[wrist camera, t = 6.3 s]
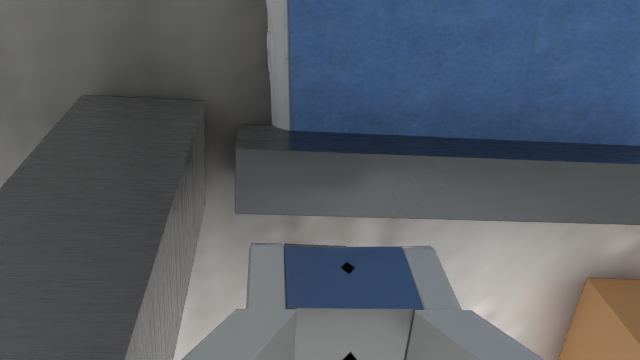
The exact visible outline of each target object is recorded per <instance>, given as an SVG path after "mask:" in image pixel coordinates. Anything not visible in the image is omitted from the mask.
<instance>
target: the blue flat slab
mask: <svg viewBox="0 0 640 360" xmlns="http://www.w3.org/2000/svg"><path fill="white" fill-rule="evenodd" d="M266 5H267V18H268V33H267V55H268V69H269V75H270V88H271V112H272V126H275V127H277V128H280V129H285V130H290V131H314V132H337V133H360V134H383V135H405V136H428V137H451V138H474V139H497V140H519V141H542V142H564V143H585V144H607V145H630V146H640V0H266Z"/></svg>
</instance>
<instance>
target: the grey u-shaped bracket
mask: <svg viewBox="0 0 640 360" xmlns="http://www.w3.org/2000/svg"><path fill="white" fill-rule="evenodd" d="M204 207H205V146H204V101H200V100H179V99H158V98H136V97H115V96H94V95H82V96H81V97H80V98H79V99H78V100H77V102H76V103H75V104H74V105H73V106H72V107H71V108H70V110H69V111H68V112H67V113H66V114H65V115H64V116H63V117H62V119H61V120H60V121H59V122H58V123H57V124H56V125H55V127H54V128H53V129H52V130H51V131H50V132H49V133H48V135H47V136H46V137H45V138H44V139H43V140H42V141H41V142H40V144H39V145H38V146H37V147H36V148H35V149H34V150H33V152H32V153H31V154H30V155H29V156H28V157H27V158H26V160H25V161H24V162H23V163H22V164H21V165H20V166H19V167H18V169H17V170H16V171H15V172H14V173H13V174H12V175H11V177H10V178H9V179H8V180H7V181H6V182H5V183H4V185H3V186H2V187H1V188H0V360H173V358H174V354H175V349H176V344H177V339H178V334H179V329H180V324H181V319H182V314H183V310H184V305H185V300H186V295H187V290H188V285H189V280H190V275H191V270H192V266H193V261H194V256H195V251H196V246H197V241H198V236H199V231H200V226H201V222H202V217H203V212H204ZM235 214H267V215H303V216H339V217H375V218H410V219H446V220H482V221H518V222H554V223H589V224H625V225H640V146H630V145H607V144H585V143H564V142H542V141H519V140H497V139H474V138H451V137H428V136H405V135H383V134H360V133H337V132H314V131H290V130H285V129H280V128H277V127H275V126H272V125H249V124H239V128H238V135H237V143H236V167H235Z"/></svg>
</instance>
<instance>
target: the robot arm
mask: <svg viewBox="0 0 640 360" xmlns="http://www.w3.org/2000/svg"><path fill="white" fill-rule="evenodd" d="M182 360H544V359H543V358H541V357H540V356H538V355H537V354H535V353H534V352H532V351H531V350H529V349H528V348H526V347H525V346H523V345H522V344H520V343H519V342H517V341H516V340H514V339H513V338H511V337H510V336H508V335H507V334H505V333H504V332H502V331H501V330H499V329H498V328H497V327H495V326H494V325H492V324H491V323H489V322H488V321H486V320H485V319H483V318H482V317H480V316H479V315H477V314H476V313H474V312H473V311H470V310H462V309H461V307H460V305H459V303H458V300H457V298H456V296H455V294H454V292H453V289H452V287H451V285H450V283H449V281H448V278H447V276H446V274H445V272H444V270H443V267H442V265H441V263H440V261H439V259H438V256H437V254H436V252H435V250H434V248H432V247H431V246H400V247H346V246H329V245H302V244H284V246H283V245H282V243H251V245H250V251H249V268H248V285H247V302H246V309H236V310H235V311H234V312H233V313H232V314H231V315H229V316H228V317H227V318H226V319H225V320H224V321H223V322H222V323H221V324H220V325H219V326H218V327H216V328H215V329H214V330H213V331H212V332H211V333H210V334H209V335H208V336H207V337H206V338H205V339H203V340H202V341H201V342H200V343H199V344H198V345H197V346H196V347H195V348H194V349H193V350H191V351H190V352H189V353H188V354H187V355H186V356H185V357H184V358H183V359H182Z"/></svg>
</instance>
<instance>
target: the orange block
mask: <svg viewBox="0 0 640 360" xmlns="http://www.w3.org/2000/svg"><path fill="white" fill-rule="evenodd" d="M558 360H640V279H599V278H587V280H586V283H585V286H584V289H583V291H582V294H581V297H580V300H579V303H578V305H577V308H576V311H575V314H574V317H573V319H572V322H571V325H570V328H569V331H568V333H567V336H566V339H565V342H564V345H563V347H562V350H561V353H560V356H559V359H558Z"/></svg>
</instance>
